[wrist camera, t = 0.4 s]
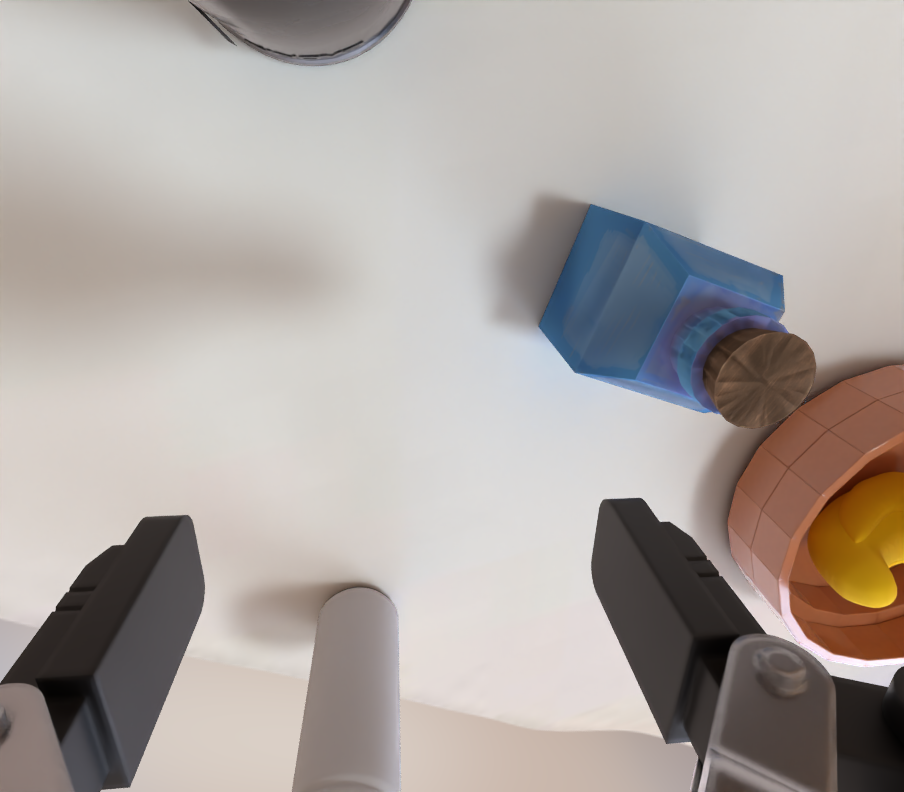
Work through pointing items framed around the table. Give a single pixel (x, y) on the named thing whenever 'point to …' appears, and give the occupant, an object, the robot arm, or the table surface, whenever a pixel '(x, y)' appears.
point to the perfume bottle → (677, 322)
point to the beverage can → (352, 698)
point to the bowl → (804, 497)
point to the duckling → (862, 540)
